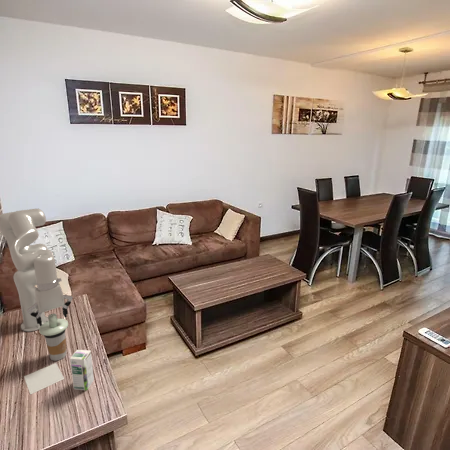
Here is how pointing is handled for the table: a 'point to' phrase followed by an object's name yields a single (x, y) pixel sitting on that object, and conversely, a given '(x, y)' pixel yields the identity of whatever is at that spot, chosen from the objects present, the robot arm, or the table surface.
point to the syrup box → (82, 369)
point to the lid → (53, 326)
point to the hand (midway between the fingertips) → (53, 320)
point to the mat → (43, 378)
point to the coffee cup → (56, 346)
